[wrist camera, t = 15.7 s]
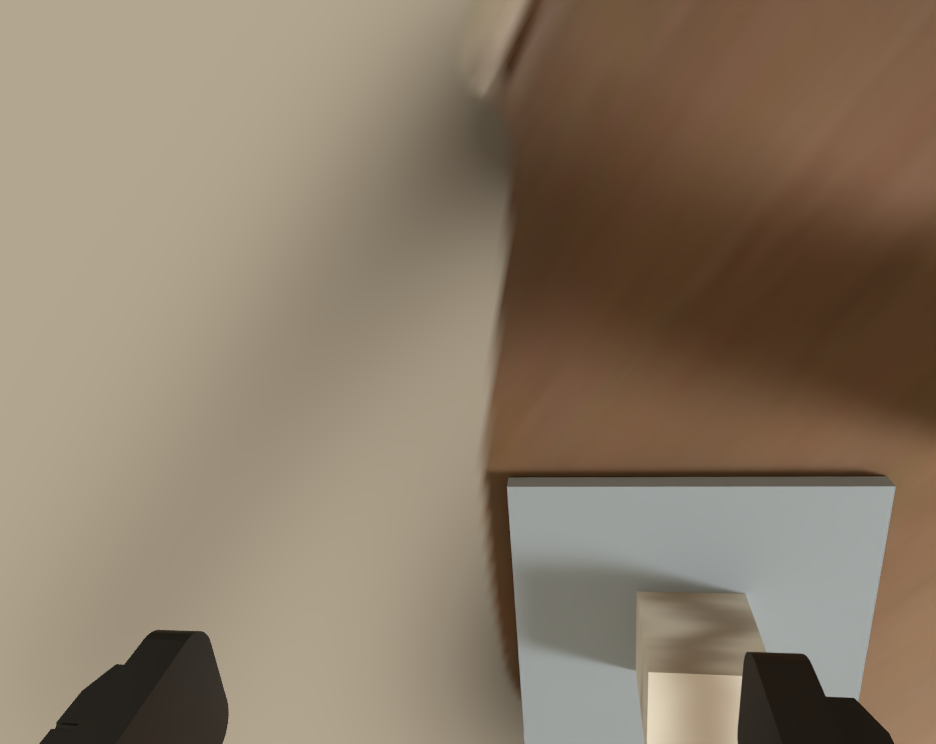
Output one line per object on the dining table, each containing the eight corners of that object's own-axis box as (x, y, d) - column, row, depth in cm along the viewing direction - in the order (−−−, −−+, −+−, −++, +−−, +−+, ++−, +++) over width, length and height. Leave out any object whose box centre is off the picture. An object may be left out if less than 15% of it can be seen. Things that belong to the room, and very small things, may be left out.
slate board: (887, 476, 36) (895, 486, 35) (841, 750, 43) (847, 764, 42) (508, 477, 39) (506, 486, 38) (525, 733, 46) (524, 746, 45)
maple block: (745, 593, 38) (775, 677, 33) (738, 674, 41) (765, 765, 35) (636, 591, 39) (648, 672, 34) (635, 670, 42) (646, 758, 36)
